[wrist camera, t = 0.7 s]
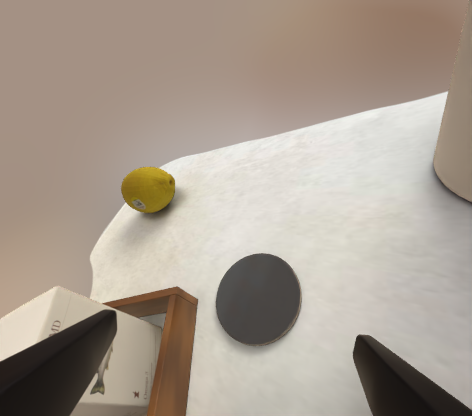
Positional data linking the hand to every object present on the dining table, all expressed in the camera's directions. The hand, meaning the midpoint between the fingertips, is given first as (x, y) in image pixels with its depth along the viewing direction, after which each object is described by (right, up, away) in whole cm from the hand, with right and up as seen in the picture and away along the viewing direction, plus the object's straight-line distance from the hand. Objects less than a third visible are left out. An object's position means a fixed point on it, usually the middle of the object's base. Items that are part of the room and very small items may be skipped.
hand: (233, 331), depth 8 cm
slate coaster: (+2, -4, +15) cm, 15 cm away
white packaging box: (-10, -13, +15) cm, 22 cm away
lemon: (-13, +5, +33) cm, 36 cm away
